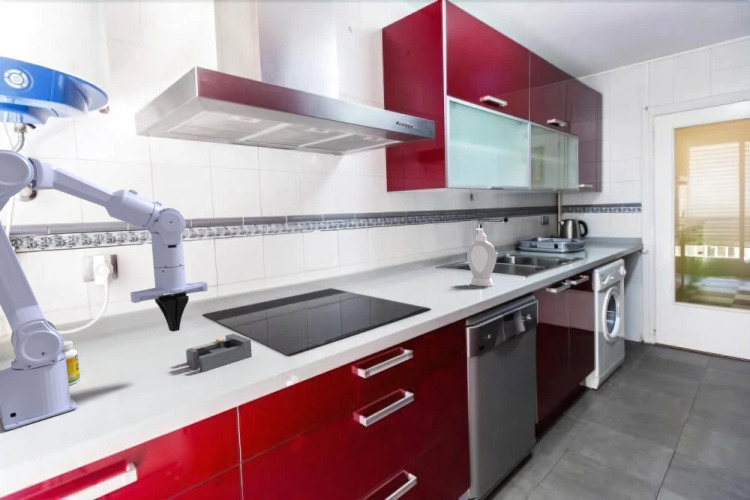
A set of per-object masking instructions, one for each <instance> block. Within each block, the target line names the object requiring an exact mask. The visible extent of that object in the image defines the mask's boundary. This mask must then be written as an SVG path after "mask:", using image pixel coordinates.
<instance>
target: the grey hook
mask: <svg viewBox="0 0 750 500" xmlns="http://www.w3.org/2000/svg"><path fill="white" fill-rule="evenodd" d="M215 341H218V342H220V348H217V349H213V350H209V354H210V353H213V352H217V351H220V350H224V349H227V348H225V347H224V346H223V339H220V338H216V339H215ZM186 349H187V352H188V364H187V365H188V367H189V368H191V369H192V370H195V371H196V370H199V359H198V351H197V350H195V349H193V347H191V348H186Z"/></svg>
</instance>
